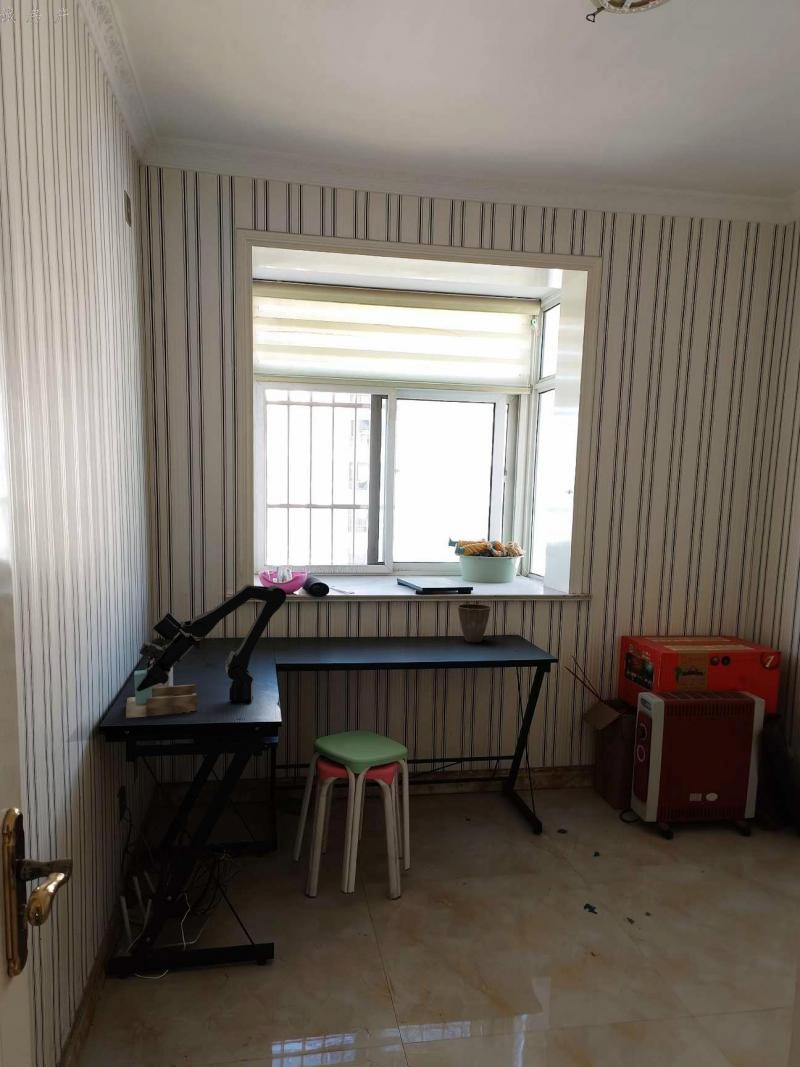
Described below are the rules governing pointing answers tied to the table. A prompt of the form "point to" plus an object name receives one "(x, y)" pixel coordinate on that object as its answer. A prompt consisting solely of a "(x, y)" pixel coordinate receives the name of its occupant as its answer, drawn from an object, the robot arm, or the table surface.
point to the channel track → (164, 702)
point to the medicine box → (169, 682)
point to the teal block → (144, 694)
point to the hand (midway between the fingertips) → (137, 688)
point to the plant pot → (473, 621)
